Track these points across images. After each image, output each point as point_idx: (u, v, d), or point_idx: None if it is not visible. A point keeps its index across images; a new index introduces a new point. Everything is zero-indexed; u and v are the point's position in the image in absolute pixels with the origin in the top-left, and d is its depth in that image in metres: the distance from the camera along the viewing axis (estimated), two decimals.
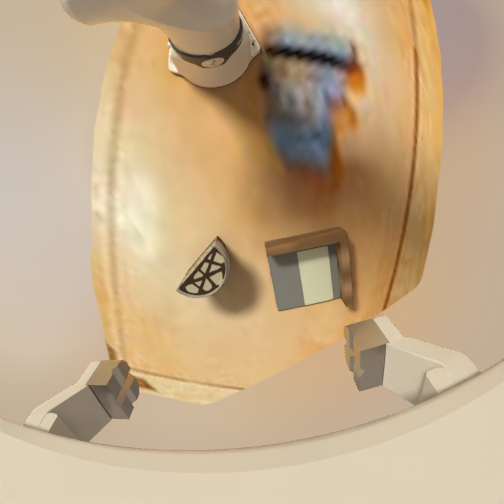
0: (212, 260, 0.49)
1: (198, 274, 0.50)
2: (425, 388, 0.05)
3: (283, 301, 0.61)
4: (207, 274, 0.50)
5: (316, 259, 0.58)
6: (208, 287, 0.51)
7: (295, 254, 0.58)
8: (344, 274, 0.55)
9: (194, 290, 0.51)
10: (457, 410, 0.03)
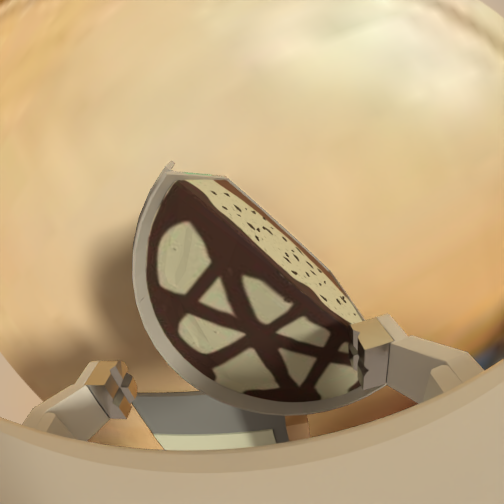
0: (333, 358, 0.10)
1: (274, 306, 0.09)
2: (429, 386, 0.05)
3: (153, 407, 0.22)
4: (268, 342, 0.10)
5: None
6: (198, 339, 0.10)
7: (266, 427, 0.23)
8: None
9: (172, 271, 0.09)
10: (457, 410, 0.03)
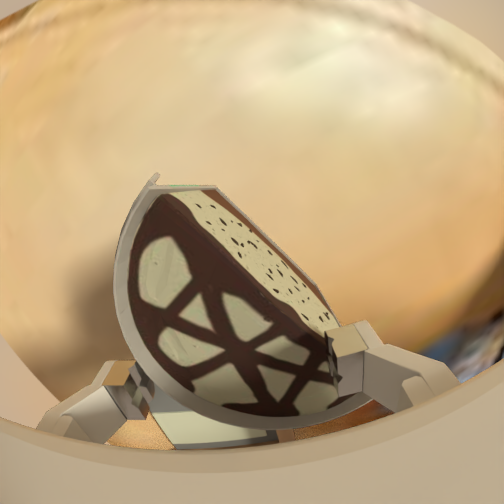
0: (312, 377, 0.10)
1: (253, 324, 0.09)
2: (401, 398, 0.05)
3: None
4: (247, 358, 0.10)
5: None
6: (178, 352, 0.10)
7: None
8: None
9: (153, 285, 0.09)
10: (457, 410, 0.03)
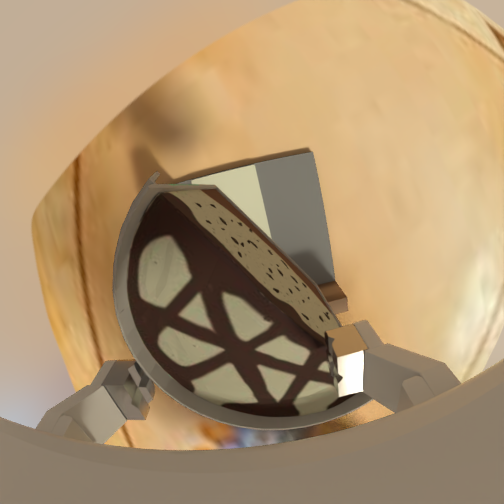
0: (312, 377, 0.10)
1: (253, 324, 0.09)
2: (401, 397, 0.05)
3: (303, 174, 0.28)
4: (247, 358, 0.10)
5: None
6: (178, 352, 0.10)
7: None
8: None
9: (152, 284, 0.09)
10: (457, 410, 0.03)
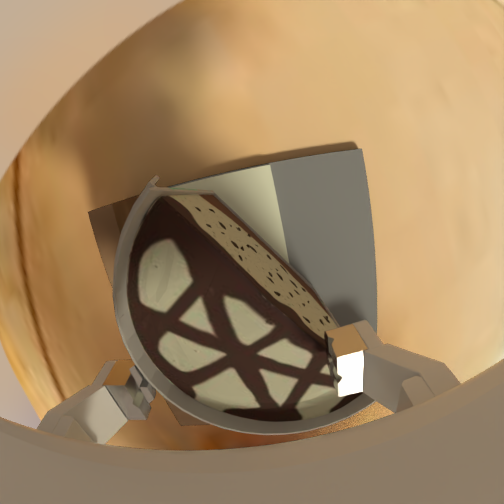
0: (315, 380, 0.10)
1: (255, 327, 0.09)
2: (401, 398, 0.05)
3: (346, 184, 0.17)
4: (249, 362, 0.10)
5: None
6: (179, 357, 0.09)
7: None
8: None
9: (153, 289, 0.09)
10: (457, 410, 0.03)
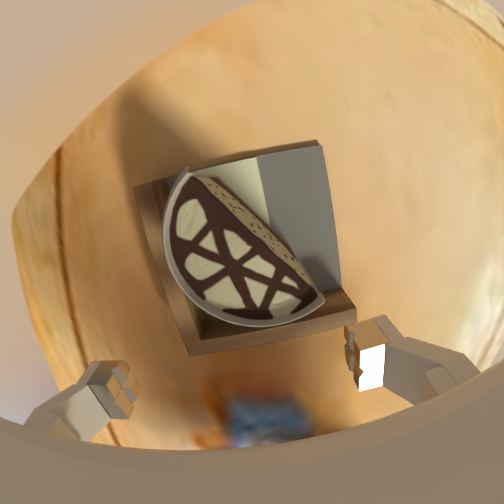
0: (279, 287, 0.18)
1: (241, 248, 0.17)
2: (425, 388, 0.05)
3: (310, 170, 0.24)
4: (238, 272, 0.17)
5: None
6: (196, 270, 0.17)
7: None
8: None
9: (184, 226, 0.16)
10: (457, 410, 0.03)
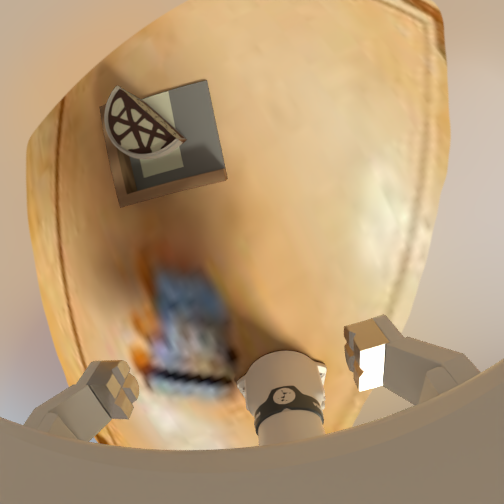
0: (155, 135, 0.30)
1: (137, 115, 0.29)
2: (425, 388, 0.05)
3: (199, 94, 0.37)
4: (136, 128, 0.30)
5: (156, 158, 0.40)
6: (118, 130, 0.30)
7: (185, 163, 0.40)
8: (115, 149, 0.35)
9: (115, 110, 0.29)
10: (457, 410, 0.03)
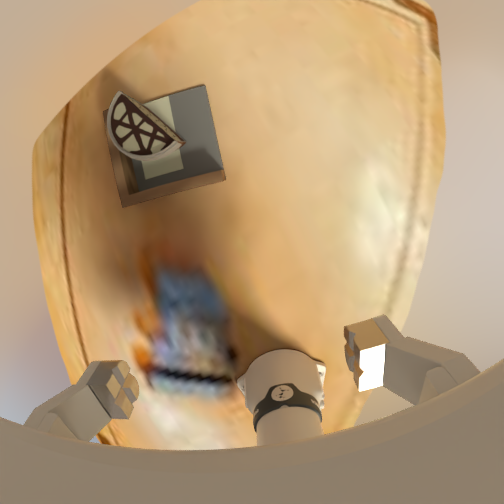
0: (155, 137, 0.32)
1: (138, 119, 0.31)
2: (425, 388, 0.05)
3: (198, 99, 0.39)
4: (137, 131, 0.32)
5: (157, 160, 0.42)
6: (120, 133, 0.32)
7: (185, 165, 0.42)
8: (118, 151, 0.37)
9: (117, 114, 0.31)
10: (457, 410, 0.03)
